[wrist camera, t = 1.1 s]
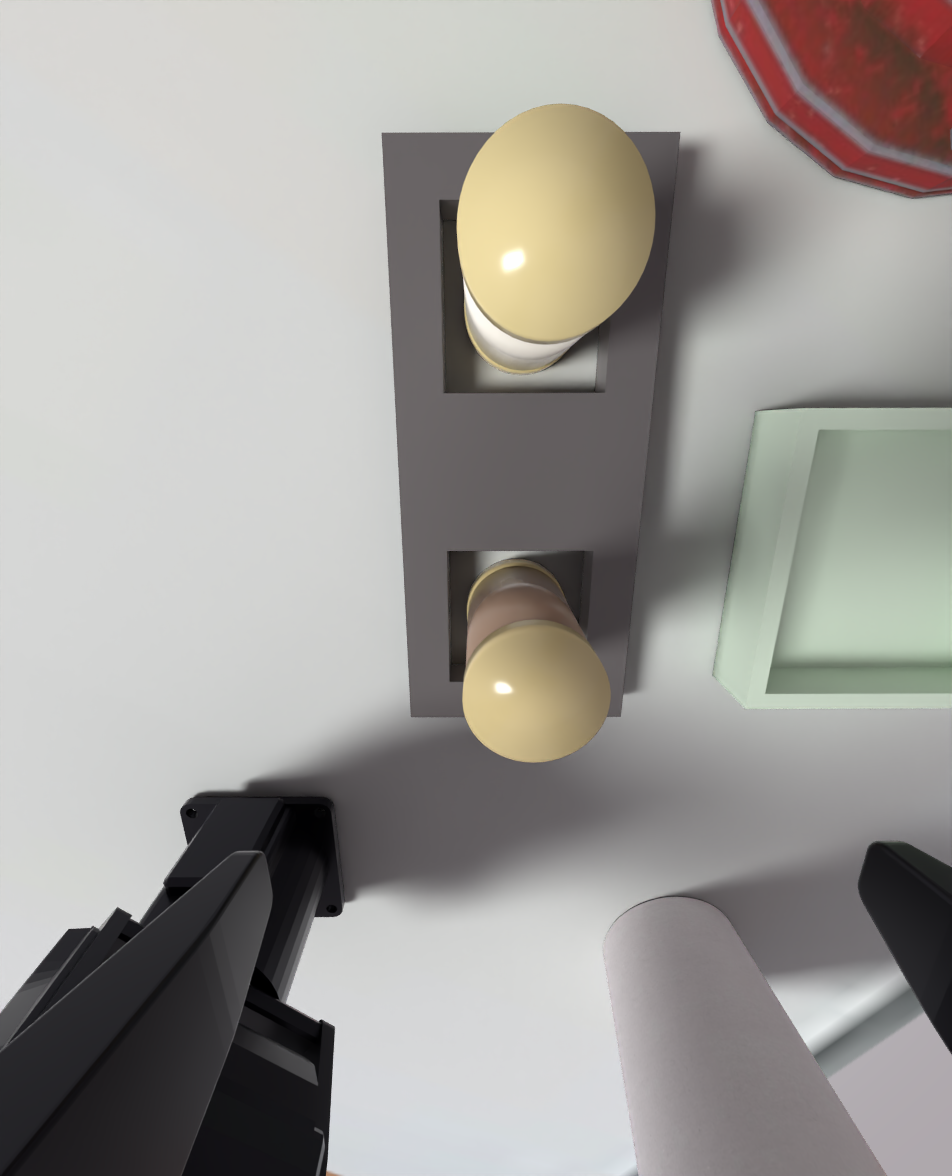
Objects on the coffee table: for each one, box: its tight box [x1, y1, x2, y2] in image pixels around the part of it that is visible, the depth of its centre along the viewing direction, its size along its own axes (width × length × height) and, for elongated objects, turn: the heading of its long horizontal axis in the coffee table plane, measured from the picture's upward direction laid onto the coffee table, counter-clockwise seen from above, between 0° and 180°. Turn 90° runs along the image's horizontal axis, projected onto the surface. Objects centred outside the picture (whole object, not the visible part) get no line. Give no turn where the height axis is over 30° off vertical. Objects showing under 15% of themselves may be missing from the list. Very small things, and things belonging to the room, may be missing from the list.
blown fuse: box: [462, 559, 611, 762], centre depth 15 cm, size 4×4×7 cm
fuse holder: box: [382, 132, 680, 717], centre depth 17 cm, size 18×8×1 cm, turn 0°
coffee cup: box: [603, 897, 887, 1176], centre depth 17 cm, size 10×10×15 cm
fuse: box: [457, 104, 655, 375], centre depth 12 cm, size 4×4×7 cm
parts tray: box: [713, 408, 952, 709], centre depth 17 cm, size 10×10×2 cm
